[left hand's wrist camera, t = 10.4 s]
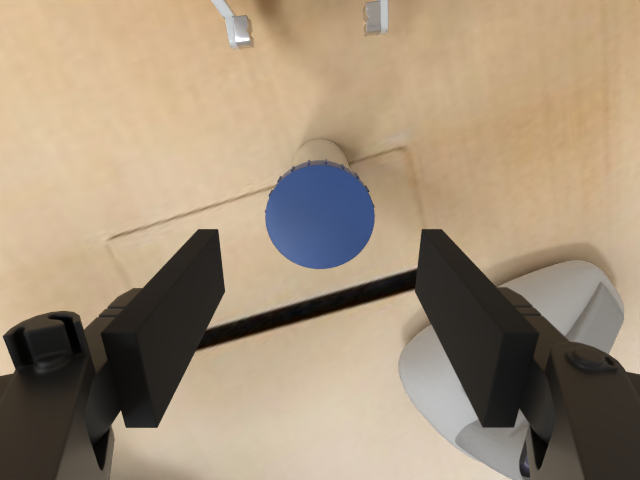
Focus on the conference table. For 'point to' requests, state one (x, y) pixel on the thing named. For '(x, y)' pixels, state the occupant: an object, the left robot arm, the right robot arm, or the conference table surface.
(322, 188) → the lid
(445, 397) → the projector
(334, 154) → the jar
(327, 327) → the conference table surface
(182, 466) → the conference table surface
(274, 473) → the conference table surface
